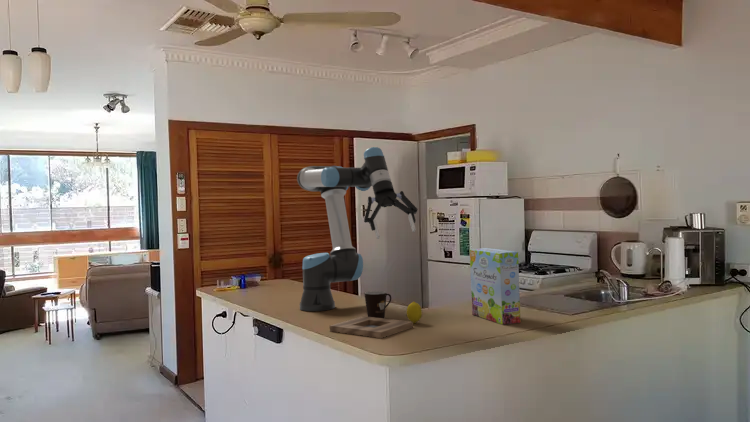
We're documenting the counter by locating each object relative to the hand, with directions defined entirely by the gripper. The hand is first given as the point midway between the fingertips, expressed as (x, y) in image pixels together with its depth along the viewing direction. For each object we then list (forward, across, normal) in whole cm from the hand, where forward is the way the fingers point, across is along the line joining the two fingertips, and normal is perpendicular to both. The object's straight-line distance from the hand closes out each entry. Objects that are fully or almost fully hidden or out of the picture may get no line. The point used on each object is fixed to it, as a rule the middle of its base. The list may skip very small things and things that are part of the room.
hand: (396, 234), depth 205 cm
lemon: (+30, +1, +15) cm, 33 cm away
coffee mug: (+22, -9, +27) cm, 36 cm away
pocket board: (+30, -16, +10) cm, 35 cm away
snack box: (+35, +31, +15) cm, 49 cm away
